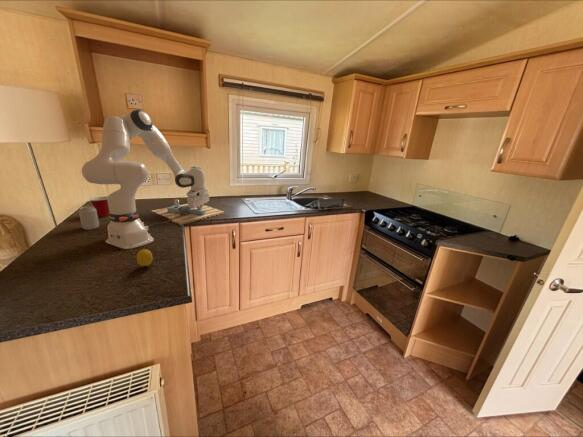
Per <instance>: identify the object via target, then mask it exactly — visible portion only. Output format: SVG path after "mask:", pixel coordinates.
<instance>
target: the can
mask: <svg viewBox="0 0 583 437" xmlns="http://www.w3.org/2000/svg"><path fill="white" fill-rule="evenodd" d="M78 215H79V216H78V217H79V221H80V223H81V224H80V225H81V228H82V229H83V230H87V231H90V230H96V229H98V228H99V227H100V221H99V217H98V215H97V211H96V209H95V208H94V206H93V205H86V206H81V207H79V210H78Z"/></svg>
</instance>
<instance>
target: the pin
mask: <svg viewBox="0 0 583 437" xmlns="http://www.w3.org/2000/svg"><path fill="white" fill-rule="evenodd" d="M173 201H174V205H175V208H178V207H180V205H181V204H180V199H178V198H177V199H176V198H175V199H174V200H173Z"/></svg>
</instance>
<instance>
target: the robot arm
mask: <svg viewBox="0 0 583 437" xmlns="http://www.w3.org/2000/svg"><path fill="white" fill-rule="evenodd" d="M101 132H102V133H101V134H102V139H101V148H100V151H98V153H97V155H96V156H95V157H93V158H91V159H90V160H89V161H86V162H85V163H84V164H83V165H82V167H81V174H82V176H83V178H84V180H86V182H88V183H90V184H96V185H120V188H119V189H117V190H115V191H113V192H111V193H109V194H108V198H107V201H108V206H109V216H108V218H109V223H108V224H107V227H106V228H107V236H108V238H107V239H105V243H106V244H108V245H111V246H115V247H117V248H120V249H123V250H128V249H135V248H138V247H139V248H140V247H142V246H146V245H148V244H151V243H152V242H154V241H155V239H154V237H152V235H151V234H150V233H149V232H148V231H149V226H148V225H145V223H144V221H142V220H141V218H140V216H139V212H138V209H137V207H136V206H137V205H136V194H137V191H138V190H139V188H140V186H141V185H142V184H144V183H145V182H146V181H147V180H148V178H149V170H148V168H147V166H146V165H145V164H144V163H143V162H139V161H138V162H137V161H133V160H122V159H125V158H127V156H129V154H130V153H131V144H130V142H131V141H130V140H131V139H133V138H135V137H138V136H139V138H141V139H142V142H144V144H145V146H146V147H147V149H148V150H149V151H150V152H151V153H152V154H153V155H154V157H157V158H158V159H160V160H162V161H163V162H164V163H165V164H166V165H167V166H168V167H169V169H170V170H171V171H172V173H173V176H174V182H175V185H176V186H177V187H179V188H182V189H183V188H189V187H190V188H191V189H189V190H188V192H187V193H186V197H187V198H186V199H187V200H186V201H187V204H188V207H189V208H195V207H197V209H200V210H202V207H203V205H205V204H207V203H208V202H210V194H209V192H208V189H206V185H205V181H206V180H205V179H206V178H205V172H204V170H203V169H202V168H201V167H198V166H191V167H190V168H188V169H184V168H183V167H182V166H181V165H180V163H179V162H178V160H177V158H175V156H174V154H173V151H172V150H171V147H170V145H169V142H168V141H167V139H166V138H165V137H164V135H163V134H162V132H160V130H159V129H158V128H157V127H156V126H155V125H154V124H153V121H152V118H151V117H150V116H149V114H148V113H147V112H146V111H144V110H141V109H135V110H132V111H131V112H129V113H126V114H125V115H122V116H116V115H110V116H107V117H106V118H105V119H104V122H103V126H102V131H101Z"/></svg>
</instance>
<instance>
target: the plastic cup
mask: <svg viewBox="0 0 583 437" xmlns="http://www.w3.org/2000/svg"><path fill="white" fill-rule="evenodd" d="M108 196H109V195H108ZM108 196H105V195H104V196H97V197H91V198H89V199H88V200H89V201H90V203H91V204H92V206H94V208H95V209H96V211H97V216H98V218H107V217H108V218H109V206H108V201H107V198H108Z"/></svg>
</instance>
